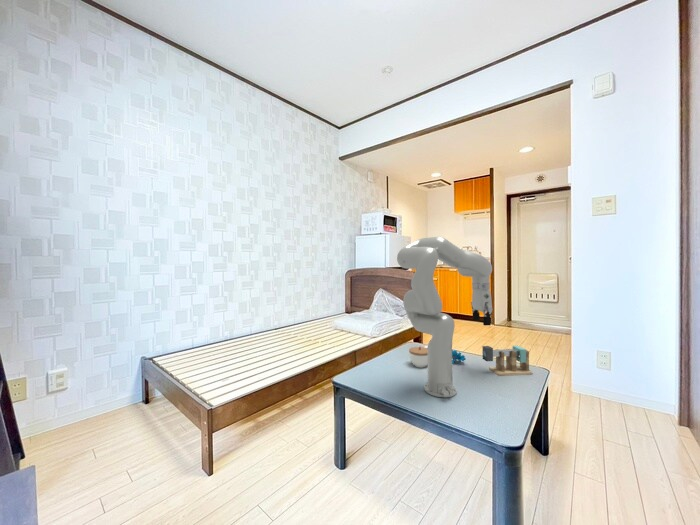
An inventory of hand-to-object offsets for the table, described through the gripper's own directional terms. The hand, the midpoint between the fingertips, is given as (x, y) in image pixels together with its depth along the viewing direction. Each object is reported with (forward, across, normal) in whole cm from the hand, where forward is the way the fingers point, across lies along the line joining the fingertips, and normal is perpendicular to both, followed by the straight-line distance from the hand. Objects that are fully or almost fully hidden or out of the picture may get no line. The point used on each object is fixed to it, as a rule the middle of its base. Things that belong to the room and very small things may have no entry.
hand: (481, 322), depth 135 cm
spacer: (+15, -2, -17) cm, 23 cm away
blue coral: (+23, +13, +8) cm, 28 cm away
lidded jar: (+23, +10, +27) cm, 37 cm away
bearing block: (+23, -2, -13) cm, 26 cm away
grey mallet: (+17, -2, -10) cm, 20 cm away
